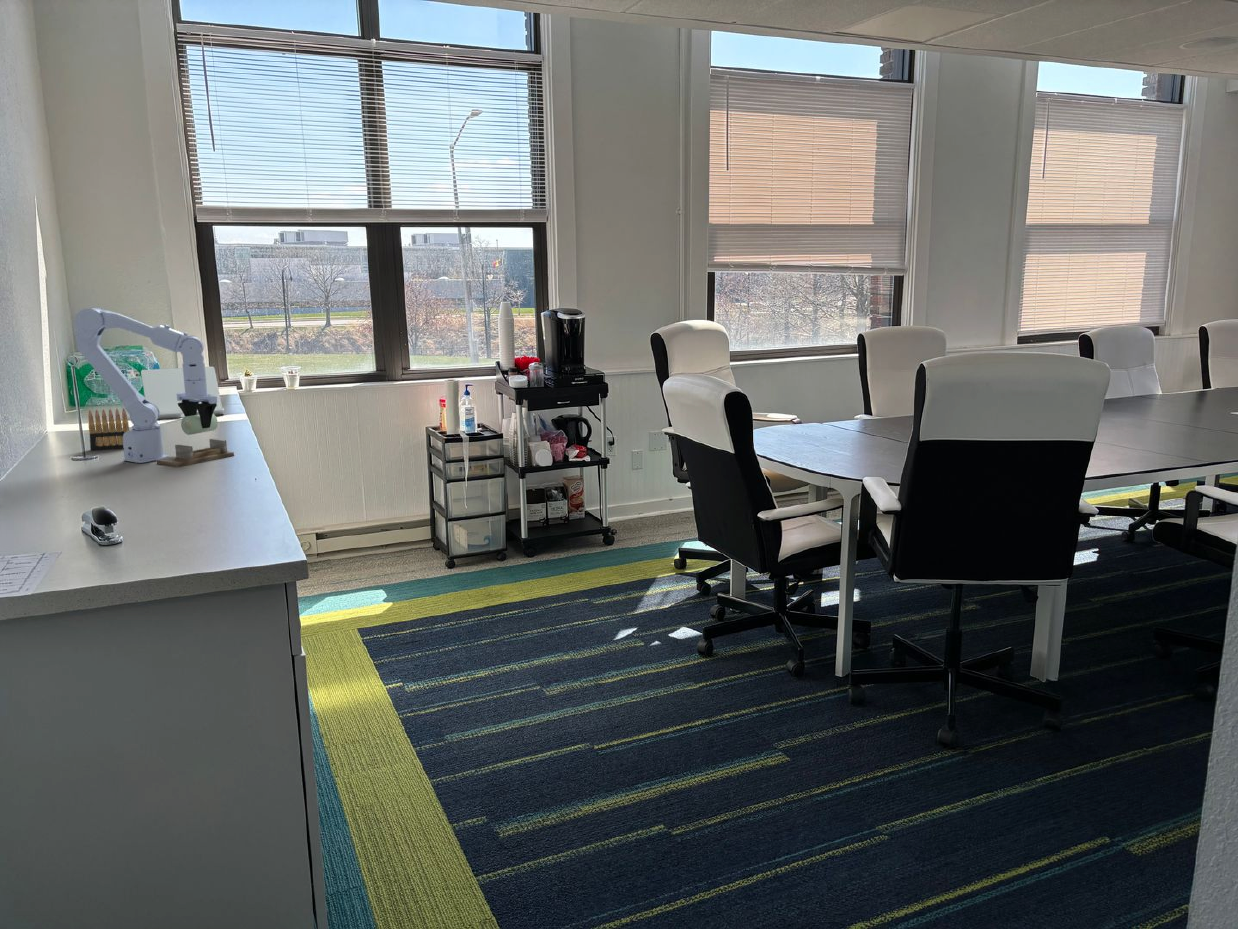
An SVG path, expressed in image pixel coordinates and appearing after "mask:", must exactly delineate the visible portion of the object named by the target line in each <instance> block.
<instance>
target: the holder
mask: <svg viewBox="0 0 1238 929" xmlns="http://www.w3.org/2000/svg"><path fill="white" fill-rule="evenodd" d="M174 447H175V448H174V449H175V456H171V457H170V458H164V459H159V460H156V464H158V465H164V466H170V467H177V468H179V467H184V466H188V465H194V464H199V463H203V462H204V463H205V462H210V461H213V460H214V461H215V460H218V459H219V460H220V459H224V458H230V457H233V456H235V452H234V451H228V445H227V440H225V439H218V438H209V447H206V448H199V449H196V450H194V449H193V446H192V445H191V446H190V445H184V444H174Z"/></svg>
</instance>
